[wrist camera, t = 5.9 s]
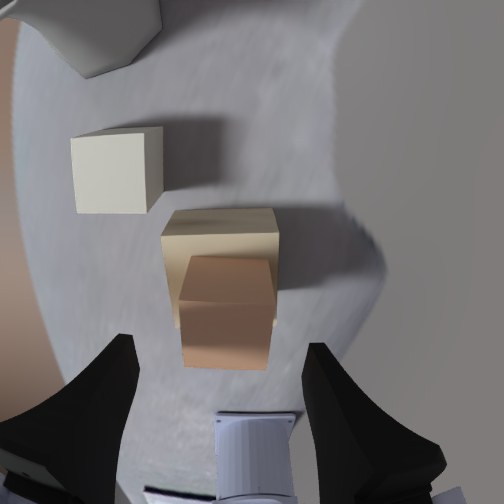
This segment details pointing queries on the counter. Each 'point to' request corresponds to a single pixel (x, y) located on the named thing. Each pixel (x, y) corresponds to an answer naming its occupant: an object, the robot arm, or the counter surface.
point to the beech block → (218, 242)
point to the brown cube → (226, 313)
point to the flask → (90, 29)
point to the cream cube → (118, 170)
